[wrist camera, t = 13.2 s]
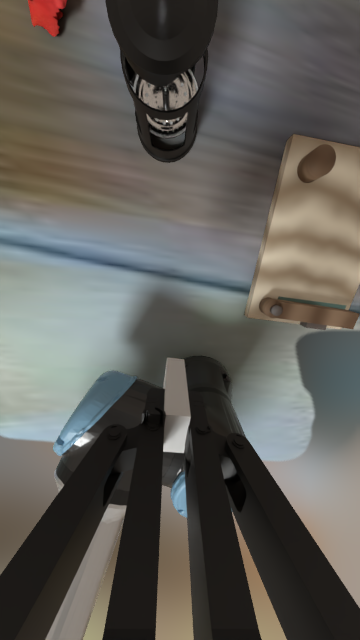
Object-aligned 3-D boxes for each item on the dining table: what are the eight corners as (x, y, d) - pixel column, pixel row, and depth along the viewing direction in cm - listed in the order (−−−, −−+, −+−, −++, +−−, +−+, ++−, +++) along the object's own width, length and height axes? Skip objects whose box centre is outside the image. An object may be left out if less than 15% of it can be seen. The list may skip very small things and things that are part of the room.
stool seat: (333, 326, 44) (353, 334, 39) (244, 314, 42) (253, 322, 37) (397, 162, 35) (432, 148, 30) (286, 140, 33) (305, 121, 28)
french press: (211, 130, 32) (294, -132, 10) (172, 179, 34) (173, 46, 12) (155, 61, 30) (109, -487, 8) (116, 119, 32) (-10, -188, 10)
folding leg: (256, 312, 39) (266, 318, 36) (261, 296, 38) (271, 300, 35) (340, 324, 41) (357, 331, 37) (346, 309, 40) (364, 314, 36)
